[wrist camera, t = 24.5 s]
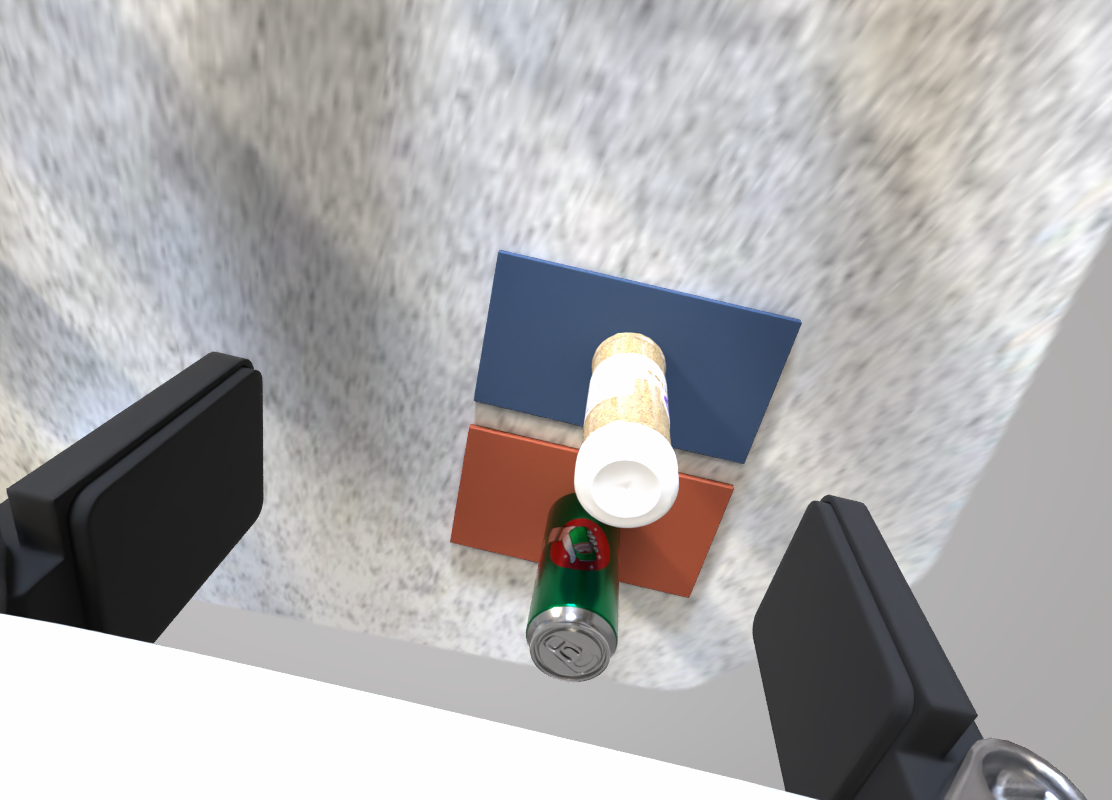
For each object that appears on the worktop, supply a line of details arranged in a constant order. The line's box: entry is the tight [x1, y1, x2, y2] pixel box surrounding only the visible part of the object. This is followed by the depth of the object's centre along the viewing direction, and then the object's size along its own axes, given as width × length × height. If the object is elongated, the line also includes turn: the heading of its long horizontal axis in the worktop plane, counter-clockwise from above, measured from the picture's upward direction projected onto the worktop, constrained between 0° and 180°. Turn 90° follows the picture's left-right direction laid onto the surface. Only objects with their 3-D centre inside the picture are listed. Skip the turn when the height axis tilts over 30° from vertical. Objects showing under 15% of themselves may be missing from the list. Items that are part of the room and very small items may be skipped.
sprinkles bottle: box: [574, 332, 679, 528], centre depth 34 cm, size 5×5×13 cm
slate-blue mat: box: [474, 250, 802, 464], centre depth 40 cm, size 18×10×1 cm, turn 78°
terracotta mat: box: [450, 424, 734, 598], centre depth 46 cm, size 18×10×1 cm, turn 78°
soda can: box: [526, 492, 621, 682], centre depth 40 cm, size 5×5×12 cm
